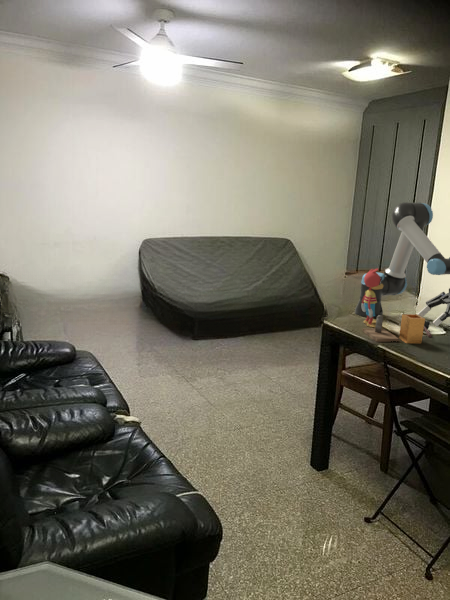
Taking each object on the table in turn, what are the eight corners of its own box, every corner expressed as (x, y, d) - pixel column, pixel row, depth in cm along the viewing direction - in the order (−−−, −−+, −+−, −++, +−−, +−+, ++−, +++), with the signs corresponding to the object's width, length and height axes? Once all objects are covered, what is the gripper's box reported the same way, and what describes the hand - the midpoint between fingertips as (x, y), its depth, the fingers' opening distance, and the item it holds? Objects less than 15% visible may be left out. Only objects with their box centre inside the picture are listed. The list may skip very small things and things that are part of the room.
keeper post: (362, 331, 241) (364, 311, 239) (383, 331, 243) (385, 312, 240) (376, 341, 226) (379, 321, 223) (398, 341, 227) (401, 321, 225)
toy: (383, 329, 246) (390, 271, 239) (363, 328, 246) (370, 270, 239) (374, 321, 261) (381, 266, 254) (355, 320, 261) (362, 265, 253)
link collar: (398, 338, 233) (402, 314, 230) (413, 338, 234) (416, 314, 231) (406, 343, 226) (410, 318, 223) (421, 343, 227) (425, 318, 224)
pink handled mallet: (408, 325, 256) (424, 329, 254) (412, 339, 239) (429, 343, 238) (412, 312, 253) (429, 316, 251) (417, 325, 236) (435, 330, 235)
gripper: (482, 301, 215) (446, 333, 216) (449, 289, 239) (417, 318, 240) (473, 289, 213) (437, 322, 214) (441, 278, 237) (408, 308, 238)
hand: (426, 320), depth 227 cm, fingers open, 13 cm apart
